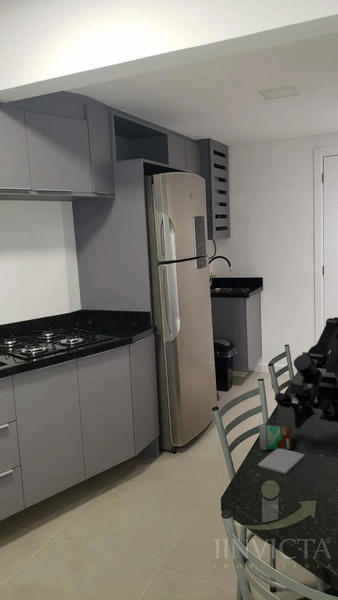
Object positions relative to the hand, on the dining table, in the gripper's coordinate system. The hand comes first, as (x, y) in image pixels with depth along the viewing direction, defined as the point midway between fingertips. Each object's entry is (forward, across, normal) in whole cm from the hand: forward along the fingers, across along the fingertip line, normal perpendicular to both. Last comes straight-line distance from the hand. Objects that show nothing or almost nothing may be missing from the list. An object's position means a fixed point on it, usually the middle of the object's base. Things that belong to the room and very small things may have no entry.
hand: (296, 428), depth 150 cm
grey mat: (+12, 0, -4) cm, 13 cm away
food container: (+1, -3, +3) cm, 4 cm away
